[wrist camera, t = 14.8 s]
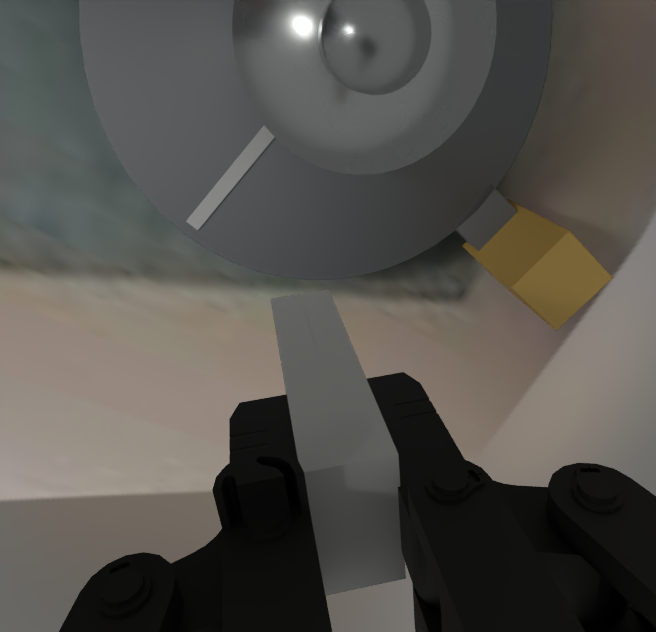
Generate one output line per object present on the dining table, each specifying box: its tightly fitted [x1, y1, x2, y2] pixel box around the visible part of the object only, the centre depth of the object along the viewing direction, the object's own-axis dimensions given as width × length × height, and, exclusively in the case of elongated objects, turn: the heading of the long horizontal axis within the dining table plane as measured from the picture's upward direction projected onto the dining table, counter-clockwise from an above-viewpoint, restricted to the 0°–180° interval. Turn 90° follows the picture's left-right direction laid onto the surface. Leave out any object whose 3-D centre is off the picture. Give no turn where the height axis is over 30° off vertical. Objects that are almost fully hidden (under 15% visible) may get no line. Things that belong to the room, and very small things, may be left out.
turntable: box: [79, 0, 612, 330], centre depth 21 cm, size 18×22×6 cm
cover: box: [232, 0, 497, 175], centre depth 18 cm, size 8×8×6 cm
